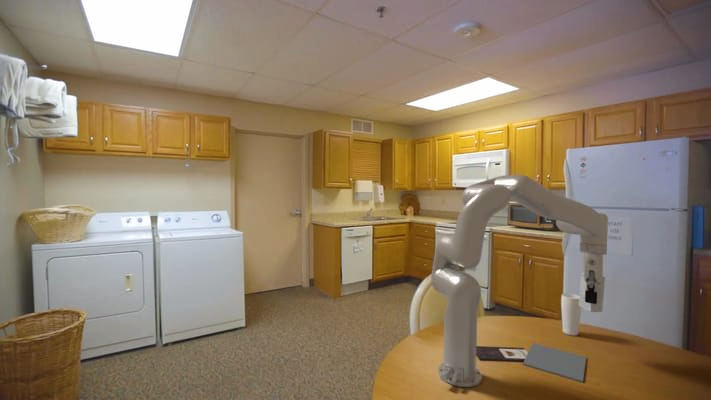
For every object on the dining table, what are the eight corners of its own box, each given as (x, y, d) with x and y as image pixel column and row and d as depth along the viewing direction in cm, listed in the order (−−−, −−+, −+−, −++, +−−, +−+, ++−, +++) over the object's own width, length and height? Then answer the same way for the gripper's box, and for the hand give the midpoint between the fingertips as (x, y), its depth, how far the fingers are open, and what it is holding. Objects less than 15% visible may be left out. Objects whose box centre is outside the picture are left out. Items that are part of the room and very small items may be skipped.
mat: (582, 382, 96) (582, 381, 96) (523, 364, 106) (523, 363, 106) (586, 358, 111) (586, 356, 111) (533, 344, 121) (533, 343, 120)
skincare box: (578, 306, 116) (579, 272, 115) (590, 306, 116) (591, 272, 116) (591, 312, 110) (592, 276, 109) (604, 312, 110) (605, 276, 109)
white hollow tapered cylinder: (584, 337, 127) (585, 298, 126) (567, 337, 127) (568, 298, 126) (573, 329, 134) (574, 293, 133) (556, 329, 134) (557, 293, 133)
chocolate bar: (471, 345, 118) (523, 347, 117) (471, 348, 118) (523, 350, 117) (479, 358, 109) (535, 361, 108) (479, 361, 109) (535, 363, 108)
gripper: (606, 253, 103) (604, 309, 104) (606, 246, 117) (605, 296, 117) (578, 250, 108) (576, 304, 108) (581, 244, 121) (579, 291, 122)
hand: (591, 299), depth 113 cm, fingers closed on skincare box, 7 cm apart
